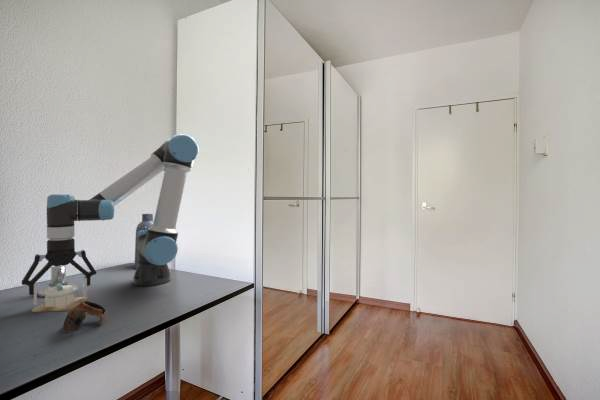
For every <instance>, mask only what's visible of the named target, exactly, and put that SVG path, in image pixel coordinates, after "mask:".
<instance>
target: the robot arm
mask: <svg viewBox="0 0 600 400" xmlns="http://www.w3.org/2000/svg"><path fill="white" fill-rule="evenodd" d="M199 151H200V149H199V145H198V143H197V141H196V140H195V139H194V138H193V137H192V136H191V135H188V134H184V133H183V134H182V133H180V134H175V135H173V136H171V138H169V139H166V140H165V141H164V143H162V144H161V146H159V148H157V149H156V150H155V151H154V152H152V153H151V154H150V157H149V158H147V159H146V160H145V161H143V162H142V163H140V164H139V165H137V166H136V167H134V168H133V169H131V171H130V170H129V172H127V173H126V174H124V175H123V176H122V177H120V178H119V179H117V180H116V181H114V182H113V183H111V184H110V185H109V186H107V187H106V188H104V189H103V190H101V191H99V192H98V193H97V194H96V195H94V196H93V197H91V198H90V199H81V200H80V199H75V195H74V194H49V195H48V196H47V198H46V239H47V241H46V254H39V253H38V254H37V253H36V254H35V255H34V261H33V262H32V264H31V266H30V267H29V268H28V270H27V272H26V274H25V275H24V277H23V279H22V280H21V285H23V286H28V294H29V296H33V306H37V305H38V287H37V286H38V285H37V284H38V283H37V282H38V281H39V279H41V278H42V277H43V276H44V275H45V273H46V272H47V271H48V270H50V269H51V267H54V266H62V265H64V266H68V265H69V264H71V265H72V266H73V267H75V268H76V269H77V270H78V271H79V272H80V273H82V274H83V275H84V276H83V278H82V279H83V280H82V281H83V283H82V287H83V288H82V290H83V291H82V292H83V293H82V295H83V297H88V296H87V295H88V287H89V286H91V277H92V276H94V275H97V271H96V270H95V268H94V267H93V264H91V262H90V261H89V259H88V258H87V257H88V256H87V254H86V251H85V250H84V249H81V250H79V251H76V249H75V243H76V241H75V239H74V237H75V222H80V221H83V222H85V221H86V222H87V221H88V222H90V221H110V220H113V219H114V217H115V206H116V205H118V204H119V203H120V202H122V201H123V200H125V199H126V198H128V197H129V196H131V195H132V194H133V193H134V192H136V191H137V190H138V189H140V188H141V187H142V186H144V185H145V184H146V183H148V182H149V181H151V180H152V179H154V178H155V177H157V176H158V175H159V174H161V173H162V172H164V174H163V177H162V182H161V187H160V190H159V191H160V192H159V196H158V200H157V205H156V210H155V213H154V217H153V221H154V222H153V225H152V226H151V227H149V228H148V230H142V231H139V232H138V237H137V239H138V266H137V269H136V268H135V272H134V276H133V278H132V283H133V285H135V286H139V287H141V286H142V287H143V286H144V287H149V286H156V285H157V286H158V285H161V284H162V285H163V284H165V283H168V282H170V281H171V280H172V275H171V271H170V268H169V265H168V264H170V263H171V262H172V261H173V260H175V258H176V256H177V255H178V251H179V248H178V244H177V241H178V240H177V239H178V237H179V232H178V230H177V229H176V226H177V221H178V217H179V212H180V208H181V202H182V199H183V193H184V189H185V184H186V179H187V175H188V173H189V172H191V171H192V170H193V165H194V161H195V159H196V158H197V157H198V155H199ZM76 256H78V257H79V258H81V259H82V260H83V262H84V263H85V265H86V267H87V268H88V270H89V271H87V270H86V269H85V268H84V267H82V266H81V265H80V264H79V263H77V261H75V257H76ZM44 259H45V260H47V261H48V262H47V263H46V264H45V265H44V266H43V267H42V268H41V269H40V270H39V271H38V272H37V273H36V274H35V275H34V276H33V277H32V275H33V274H34V272H35V270H36V268H37V267H38V266H39V264H40V263H41V262H42V261H43V260H44ZM31 277H32V278H31ZM30 278H31V280H30Z"/></svg>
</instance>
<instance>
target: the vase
mask: <svg viewBox="0 0 600 400" xmlns="http://www.w3.org/2000/svg"><path fill="white" fill-rule="evenodd" d="M153 222H154V214H153V213H142V214H141V222H139V223H138V224H137V226H136V229H135V243H134V245H135V246H134V248H135V249H134V268H135V270H136V269H137V266H138V239H137V237H138V232H139V231H142V230H148V228H149V227H151V226H152V225H153Z"/></svg>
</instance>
